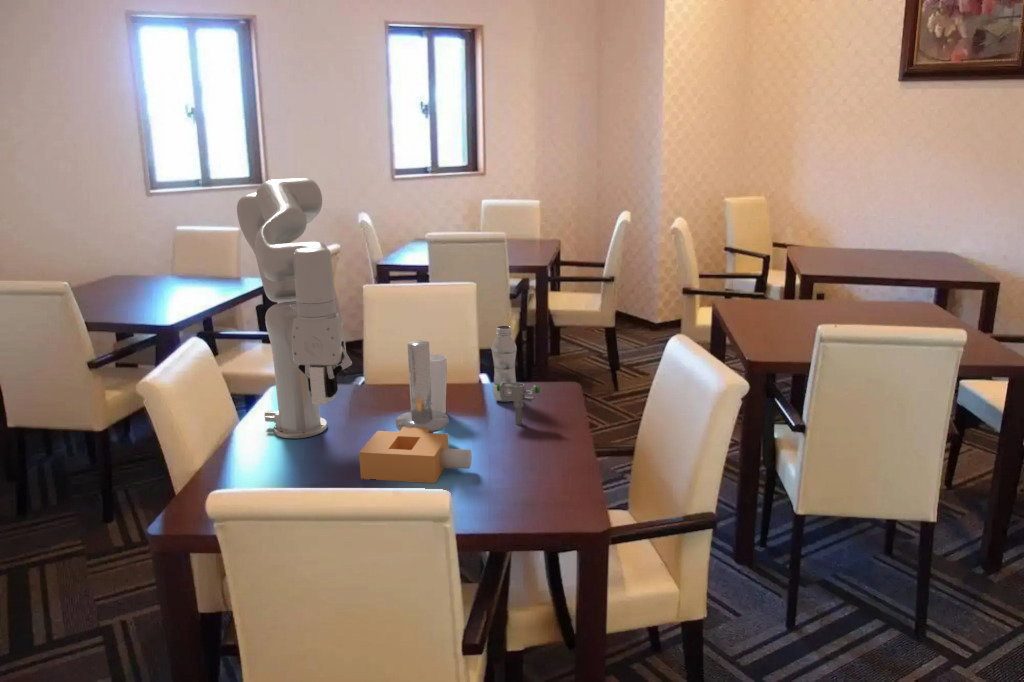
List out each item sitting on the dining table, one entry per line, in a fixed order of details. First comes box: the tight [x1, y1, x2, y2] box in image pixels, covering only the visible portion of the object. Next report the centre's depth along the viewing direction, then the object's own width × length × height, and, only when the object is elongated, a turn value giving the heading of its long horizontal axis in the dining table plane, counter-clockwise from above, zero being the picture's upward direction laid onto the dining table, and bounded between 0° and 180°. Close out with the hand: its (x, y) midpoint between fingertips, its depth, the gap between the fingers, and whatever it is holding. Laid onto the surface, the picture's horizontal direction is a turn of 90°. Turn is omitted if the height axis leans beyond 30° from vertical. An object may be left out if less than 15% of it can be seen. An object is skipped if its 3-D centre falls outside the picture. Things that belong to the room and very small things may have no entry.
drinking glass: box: [430, 353, 448, 414], centre depth 202 cm, size 7×7×15 cm
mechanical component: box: [497, 382, 541, 426], centre depth 195 cm, size 3×10×10 cm, turn 78°
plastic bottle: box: [490, 325, 517, 403], centre depth 210 cm, size 6×7×20 cm
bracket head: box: [358, 427, 473, 484], centre depth 173 cm, size 22×15×6 cm
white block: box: [309, 365, 336, 406], centre depth 167 cm, size 3×5×8 cm, turn 169°
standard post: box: [395, 340, 450, 433], centre depth 182 cm, size 12×12×24 cm
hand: (323, 394), depth 168 cm, fingers closed on white block, 3 cm apart
